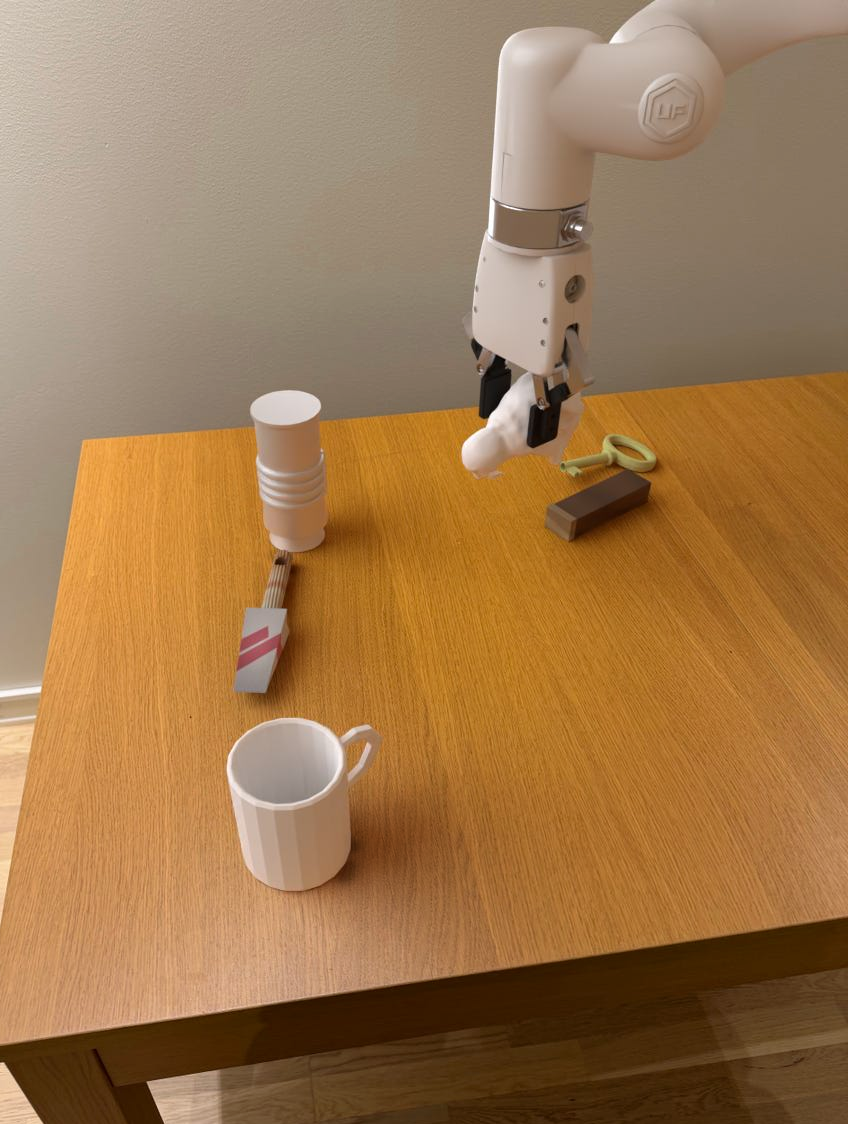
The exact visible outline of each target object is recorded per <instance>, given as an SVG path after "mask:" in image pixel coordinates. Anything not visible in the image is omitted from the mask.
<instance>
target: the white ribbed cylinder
mask: <svg viewBox="0 0 848 1124" xmlns="http://www.w3.org/2000/svg"><path fill="white" fill-rule="evenodd" d="M249 408H250V409H249V411H250V412H249V413H250V417H251V418H252V420H253V422H254V423H253V424H254V431H255V440H256V448H257V449H256V450H257V455H256V457H255V467H256V476H257V479H258V481H257V484H258V485H257V486H258V488H259V498H260V499H261V501H262V513H263V516H262V517H263V526H264V527H265V529H266V530H267V531H268V532H269V541H270V544H271V545H272V546H273V547H274V548H276V549H277V550H279V551H280V550H285V551H286V550H288V552H290V553H302V552H308V551H310V550H313V549H315V548H317V547H318V546H321V544H322V542H324V540H325V537H326V531H325V529H324V527H326V526H327V524H328V521H329V513H328V509H327V507H328V506H327V501H326V495H327V493H328V490H327V489H328V480H327V479H328V478H327V463H326V453H325V451H324V449H323V448H322V444H321V431H320V430H321V429H320V428H321V427H320V415H321V413H322V404H321V401H320V399H318V397H316V395H313V394H311V393H308V392H306V391H301V390H294V389H293V390H291V389H288V390H277V391H272V392H269V393H266V394H263V395H261V396H260V397H258V398H256V399H255V400H254V401H253V402H252V404H251V405H250V407H249Z"/></svg>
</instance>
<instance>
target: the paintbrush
mask: <svg viewBox="0 0 848 1124" xmlns="http://www.w3.org/2000/svg"><path fill="white" fill-rule="evenodd" d="M293 561H294V556H293V553H292V552H288V550H286V551H285V550H280V549H279V550H278V551H277V552H276V553H275V554H274V558H273V561H272V565H271V570H270V573H269V577H268V580H267V585H266V589H265V592H264V595H263V601H262V603H261V607H245V613H244V618H243V625H242V631H241V639H240V646H239V651H238V657H237V664H236V671H235V678H234V683H233V684H234V685H233V691H232V692H233V693H257V694H266V693H267V691H268V687H269V686H270V683H271V680H272V678H273V675H274V672H275V670H276V668H277V665H278V663H279V660H280V658H281V655H282V652H283V650H284V649H285V648H284V647H285V645H286V642H287V640H288V638H289V636H290V632H291V630H290V628H289V625H288V608H282V607H283V603H284V598H285V595H286V590H287V586H288V582H289V578H290V574H291V569H292V565H293Z"/></svg>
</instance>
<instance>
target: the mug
mask: <svg viewBox="0 0 848 1124" xmlns="http://www.w3.org/2000/svg"><path fill="white" fill-rule="evenodd" d="M383 739H384V737H383V736H382V735H381V734H380V733H379V732H377V730H375V729H374V728H373V727H372V726H370V725H369V723H368V724H364V725H359V726H355V727H352V728H351V729H349V730H348V731H347V732H345V733H344V734H343V735H342V736H340V737H339V736H337V734H336V733H334V731H333V730H332V729H331V728H330V727H327V726H326V725H323V724H322V723H320V722H318V721H316V720H311V719H308V718H307V719H306V718H302V717H280V718H276V719H272V720H267V721H263V722H262V723H260V724H258V725H256V726H254V727H252V728H251V729H248V730H247V731H246V732H245V733H244V734H243V735H242V736H241V737H240V738H239V739H237V740H236V741H235V743H234V745H233V747H232V748H231V750H230V751H229V754H228V756H227V762H226V770H225V771H226V775H227V781H228V786H229V791H230V796H231V802H232V806H233V811H234V817H235V822H236V828H237V832H238V838H239V842H240V847H241V852H242V856H243V859H244V860H243V861H244V864H245V866H246V867H247V869H248V870H249V871H250V873H251V874H252V876H253V877H254V878H255V879H257V880H258V881H260V882H262V883H263V884H265V885H266V886H267V887H269V888H272V889H276V890H281V891H284V892H304V891H307V890H310V889H313V888H317V887H320V886H322V885H324V884H325V883H327V882H328V881H330V880H331V879H332V878H334V877H335V876H336V875H337V874H338V873H339V872H340V870H341V869H342V868H343V867H344V866H345V864H346V862H347V860H348V858H349V855H350V852H351V847H352V846H351V845H352V840H351V839H352V834H351V833H352V832H351V816H350V815H351V814H350V795H349V790H350V789H351V788H353V787H354V786H355V785H356V784H357V783H358V782H359V780H360V779H362V778H363V776H364V775H365V774H366V773H367V772H368V771H369V770H370V769H371V768H372V766H373V763H374V761H375V758H376V756H377V753H378V751H379V749H380V747H381V744H382V741H383ZM363 741H366V744H365V747H364V750H363V752H362V754H361V756H360V759H359V761H358V763H356V765H355V766H354V767H353V768H352V769H351V770H350V771H349V772H348V764H347V763H348V760H347V759H348V758H347V751H346V749H347V748H349V747H350V746H351V745H353V744H357V743H359V742H363Z"/></svg>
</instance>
